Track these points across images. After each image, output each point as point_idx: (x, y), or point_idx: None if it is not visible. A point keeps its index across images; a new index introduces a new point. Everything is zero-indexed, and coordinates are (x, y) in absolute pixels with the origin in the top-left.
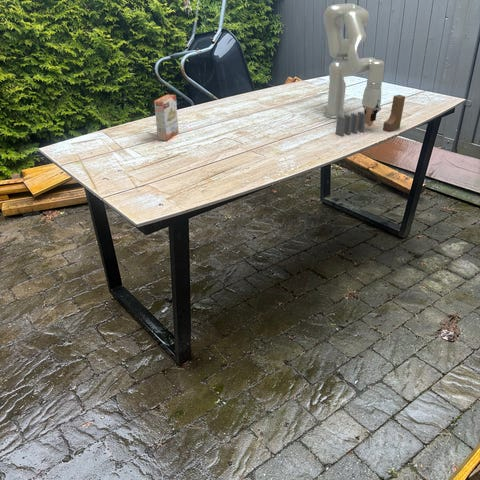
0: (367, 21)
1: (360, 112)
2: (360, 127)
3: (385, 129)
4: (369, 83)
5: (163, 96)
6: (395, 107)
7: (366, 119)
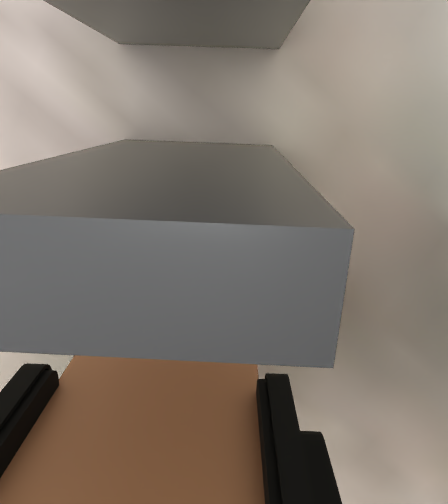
0: None
1: (201, 279)
2: (143, 147)
3: None
4: None
5: None
6: None
7: (211, 380)
